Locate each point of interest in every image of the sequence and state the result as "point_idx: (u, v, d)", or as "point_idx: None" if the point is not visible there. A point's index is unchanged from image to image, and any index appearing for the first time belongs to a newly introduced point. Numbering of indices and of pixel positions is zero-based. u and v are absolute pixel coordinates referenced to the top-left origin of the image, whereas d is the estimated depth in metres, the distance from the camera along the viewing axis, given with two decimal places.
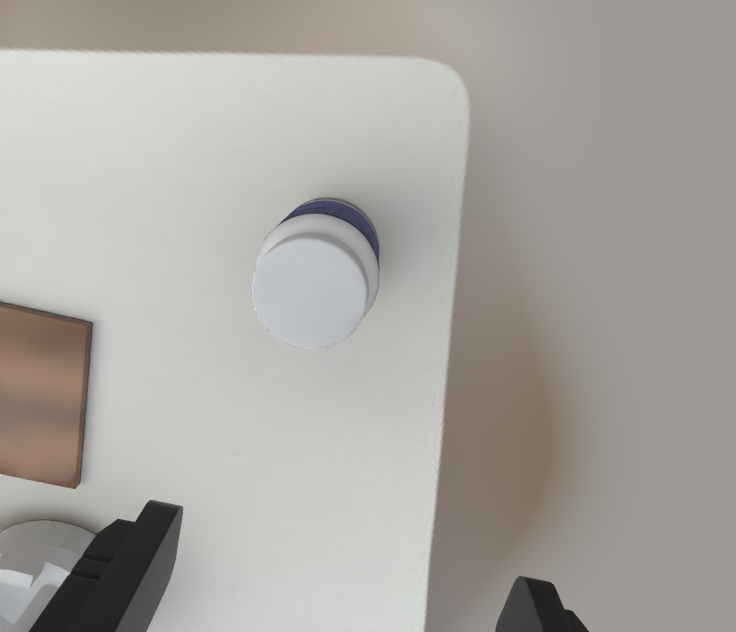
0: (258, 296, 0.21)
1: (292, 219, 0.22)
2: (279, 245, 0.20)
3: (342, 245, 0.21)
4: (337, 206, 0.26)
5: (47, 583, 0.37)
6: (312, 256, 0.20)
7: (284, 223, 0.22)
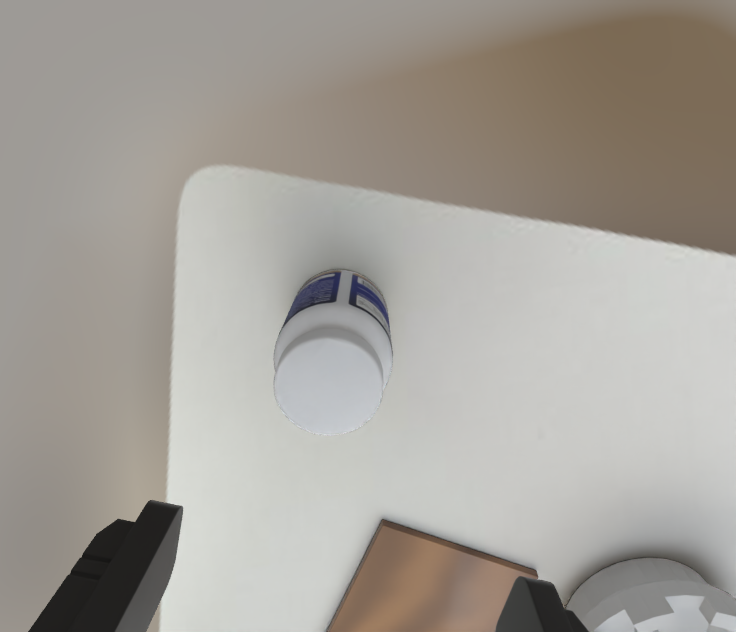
0: (323, 430, 0.23)
1: None
2: (278, 404, 0.22)
3: (287, 348, 0.22)
4: None
5: (633, 627, 0.38)
6: (290, 379, 0.22)
7: None
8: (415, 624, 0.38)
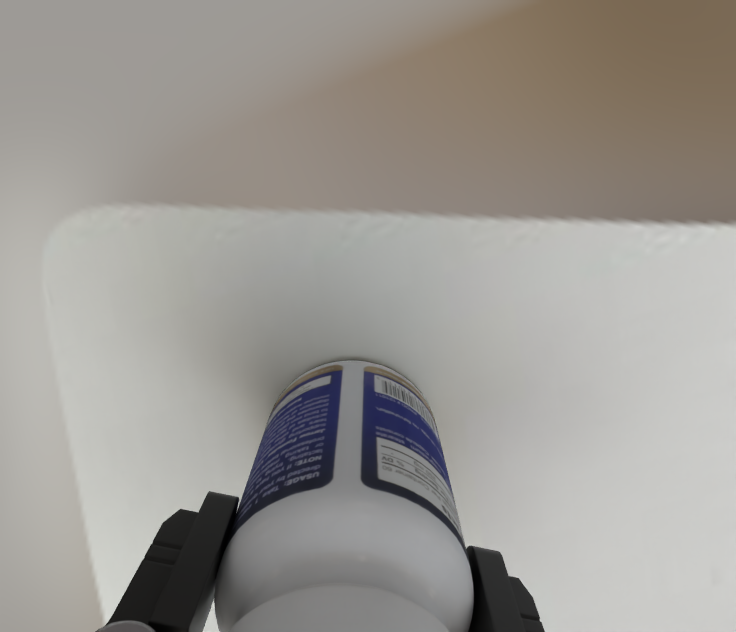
0: None
1: None
2: None
3: None
4: None
5: None
6: None
7: None
8: None
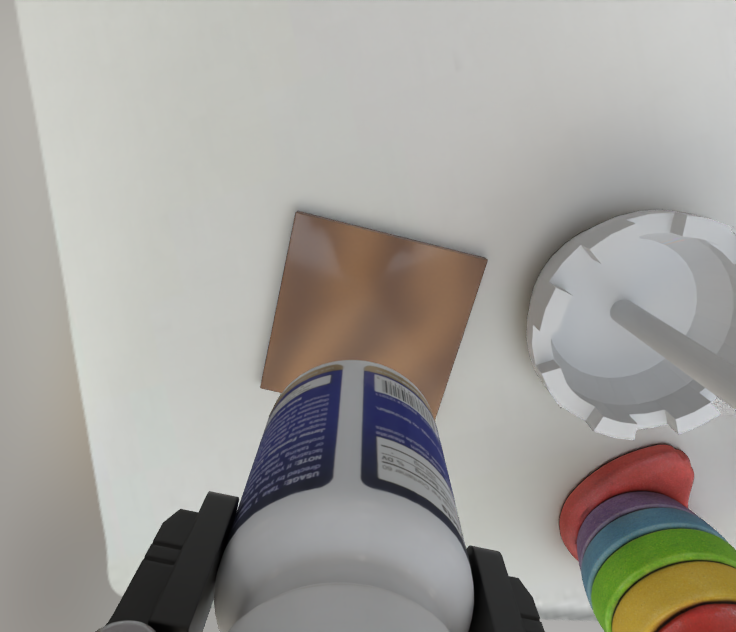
0: None
1: None
2: None
3: None
4: None
5: (608, 311, 0.32)
6: None
7: None
8: (358, 345, 0.34)
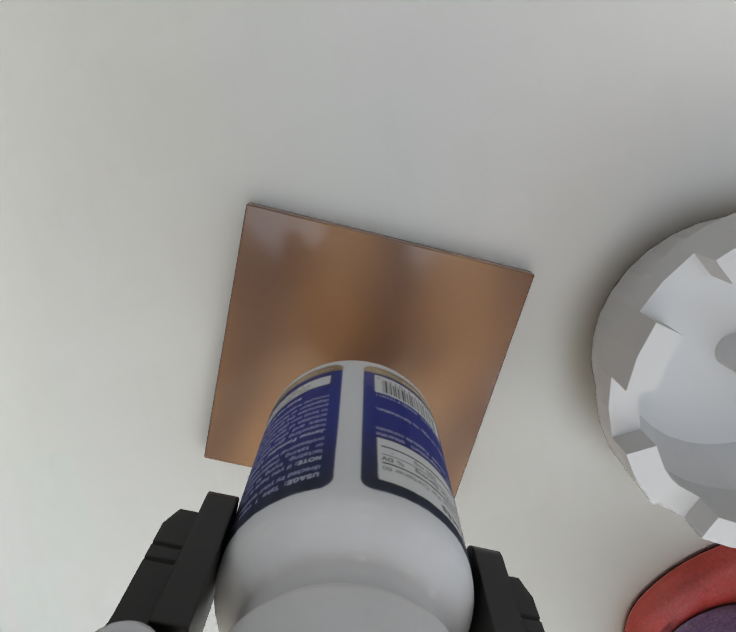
0: None
1: None
2: None
3: None
4: None
5: (712, 350, 0.22)
6: None
7: None
8: None
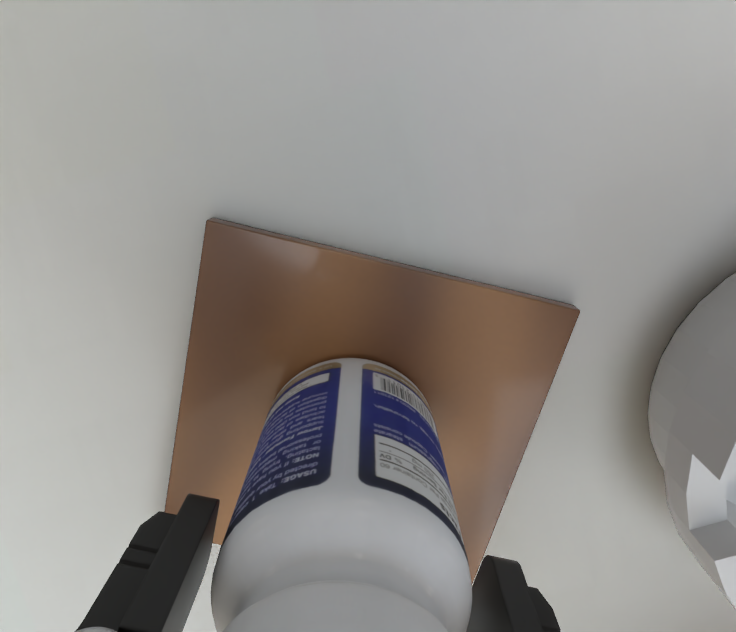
0: None
1: None
2: None
3: None
4: None
5: None
6: None
7: None
8: None
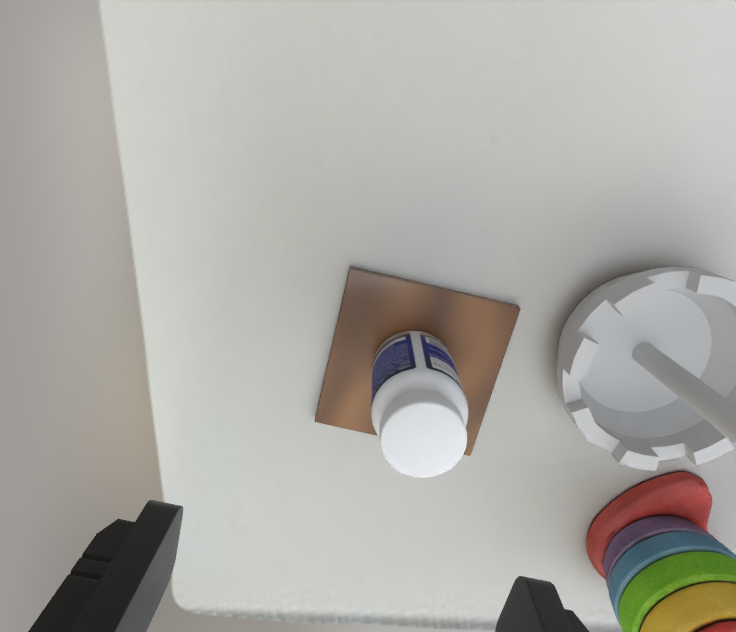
0: (423, 473, 0.28)
1: None
2: (385, 458, 0.28)
3: (387, 413, 0.28)
4: (373, 378, 0.33)
5: (630, 353, 0.36)
6: (393, 438, 0.27)
7: None
8: None
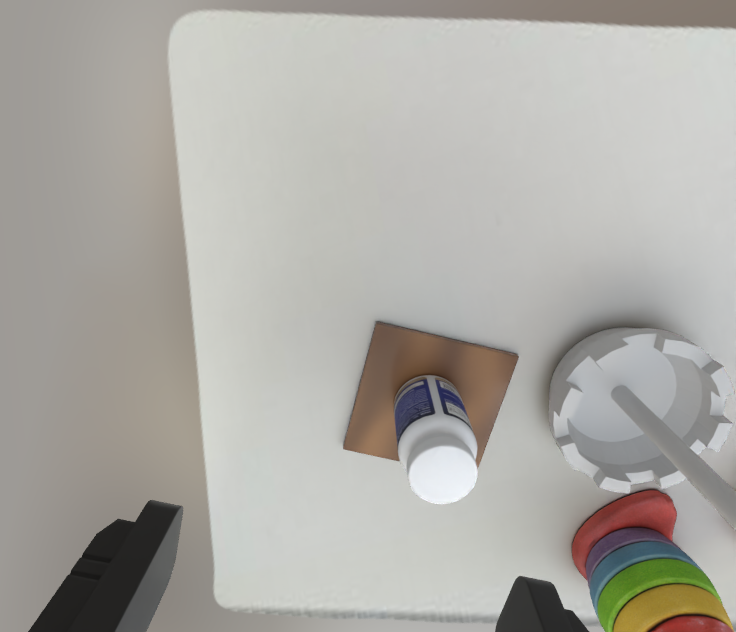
0: (441, 501, 0.35)
1: None
2: (412, 488, 0.35)
3: (414, 453, 0.34)
4: (397, 417, 0.40)
5: (609, 394, 0.43)
6: (418, 473, 0.34)
7: (403, 467, 0.37)
8: None
